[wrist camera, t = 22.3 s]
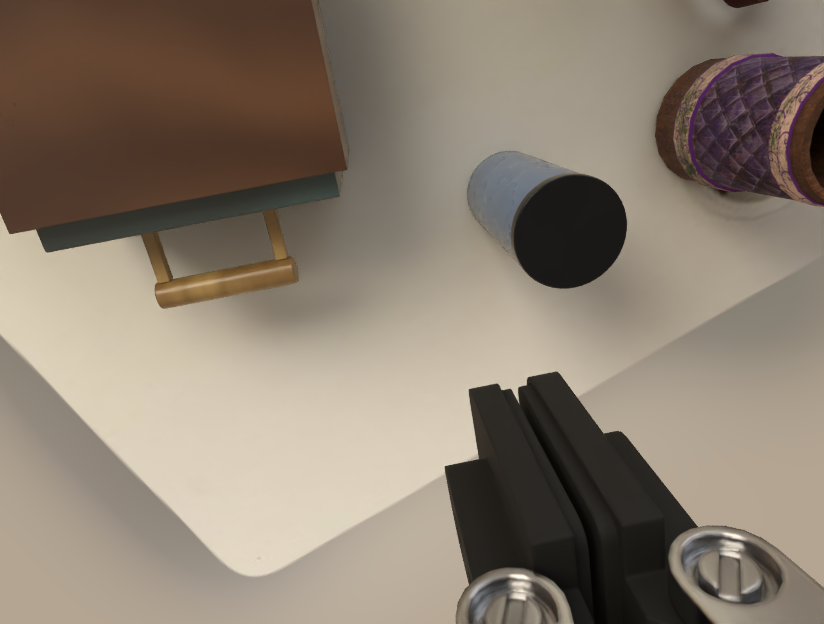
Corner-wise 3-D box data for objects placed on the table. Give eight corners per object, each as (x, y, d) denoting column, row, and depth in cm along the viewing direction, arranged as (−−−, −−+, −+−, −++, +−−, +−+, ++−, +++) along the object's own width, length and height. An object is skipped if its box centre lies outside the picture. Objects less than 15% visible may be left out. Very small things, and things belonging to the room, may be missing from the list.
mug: (672, 203, 36) (818, 253, 24) (634, 95, 33) (777, 96, 22) (828, 121, 35) (1053, 133, 24) (800, 3, 32) (1038, -45, 21)
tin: (460, 158, 33) (507, 186, 23) (543, 142, 34) (625, 164, 23) (471, 239, 35) (519, 298, 25) (549, 224, 35) (629, 277, 25)
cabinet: (349, 151, 33) (347, 169, 25) (94, 200, 32) (8, 234, 24) (279, -186, 27) (247, -303, 19) (-31, -131, 27) (-196, -227, 19)
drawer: (358, 249, 34) (359, 285, 28) (133, 293, 34) (81, 339, 27) (276, -132, 27) (252, -201, 21) (-8, -82, 27) (-120, -136, 20)
